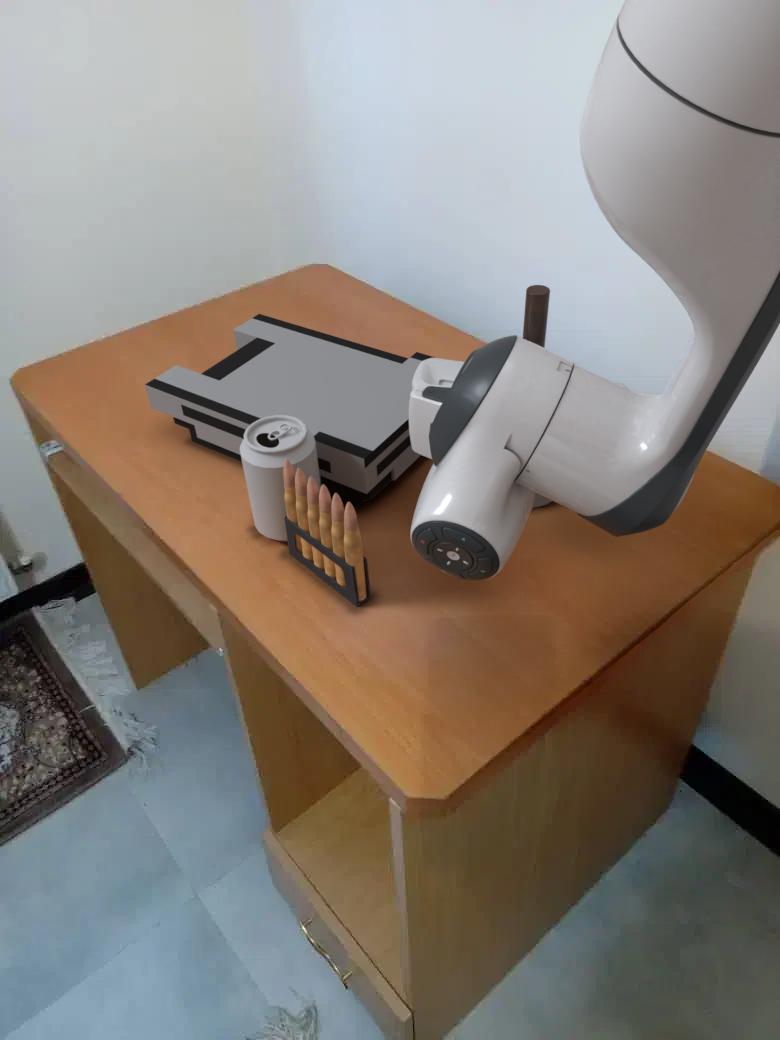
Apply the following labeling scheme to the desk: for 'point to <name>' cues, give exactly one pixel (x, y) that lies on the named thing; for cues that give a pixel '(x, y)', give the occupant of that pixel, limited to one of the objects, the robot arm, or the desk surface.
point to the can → (275, 467)
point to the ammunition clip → (325, 536)
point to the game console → (303, 401)
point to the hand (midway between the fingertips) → (533, 360)
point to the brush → (536, 314)
